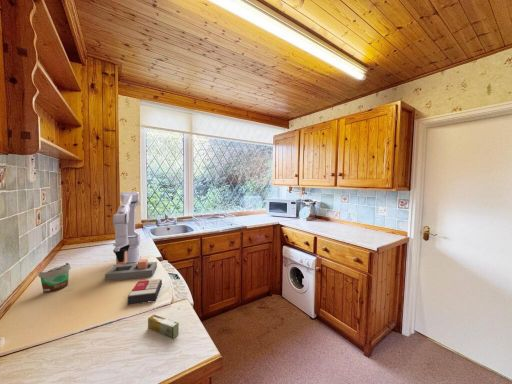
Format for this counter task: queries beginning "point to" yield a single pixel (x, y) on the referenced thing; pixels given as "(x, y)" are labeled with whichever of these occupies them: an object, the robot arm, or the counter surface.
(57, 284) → the food container
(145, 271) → the dock
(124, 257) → the plug
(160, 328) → the medication box
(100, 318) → the counter surface
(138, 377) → the counter surface
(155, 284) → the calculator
